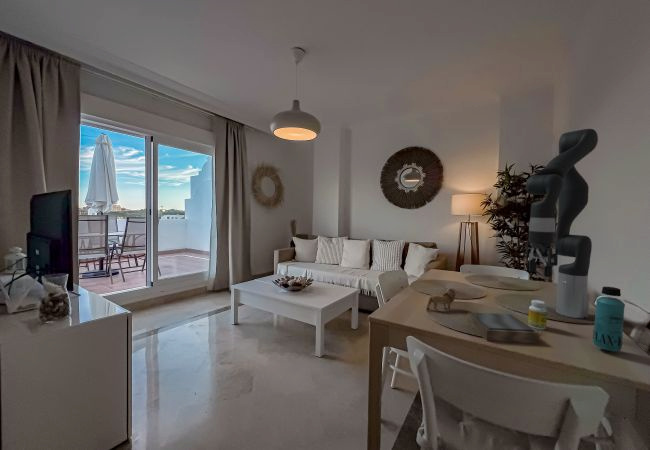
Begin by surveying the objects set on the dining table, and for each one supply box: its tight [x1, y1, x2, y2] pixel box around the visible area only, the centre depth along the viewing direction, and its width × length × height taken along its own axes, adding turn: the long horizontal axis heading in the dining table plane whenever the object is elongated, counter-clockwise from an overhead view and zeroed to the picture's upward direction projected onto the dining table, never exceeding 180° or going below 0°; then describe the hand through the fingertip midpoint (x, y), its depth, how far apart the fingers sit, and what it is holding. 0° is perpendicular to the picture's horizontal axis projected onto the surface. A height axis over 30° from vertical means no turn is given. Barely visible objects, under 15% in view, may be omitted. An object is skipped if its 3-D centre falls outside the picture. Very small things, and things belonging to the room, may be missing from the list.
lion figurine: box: [426, 287, 456, 313], centre depth 123 cm, size 15×5×9 cm, turn 110°
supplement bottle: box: [527, 299, 548, 330], centre depth 105 cm, size 5×5×10 cm
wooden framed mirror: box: [467, 312, 540, 344], centre depth 101 cm, size 16×16×4 cm
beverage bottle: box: [592, 286, 626, 352], centre depth 87 cm, size 6×7×20 cm
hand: (539, 274), depth 104 cm, fingers open, 8 cm apart
